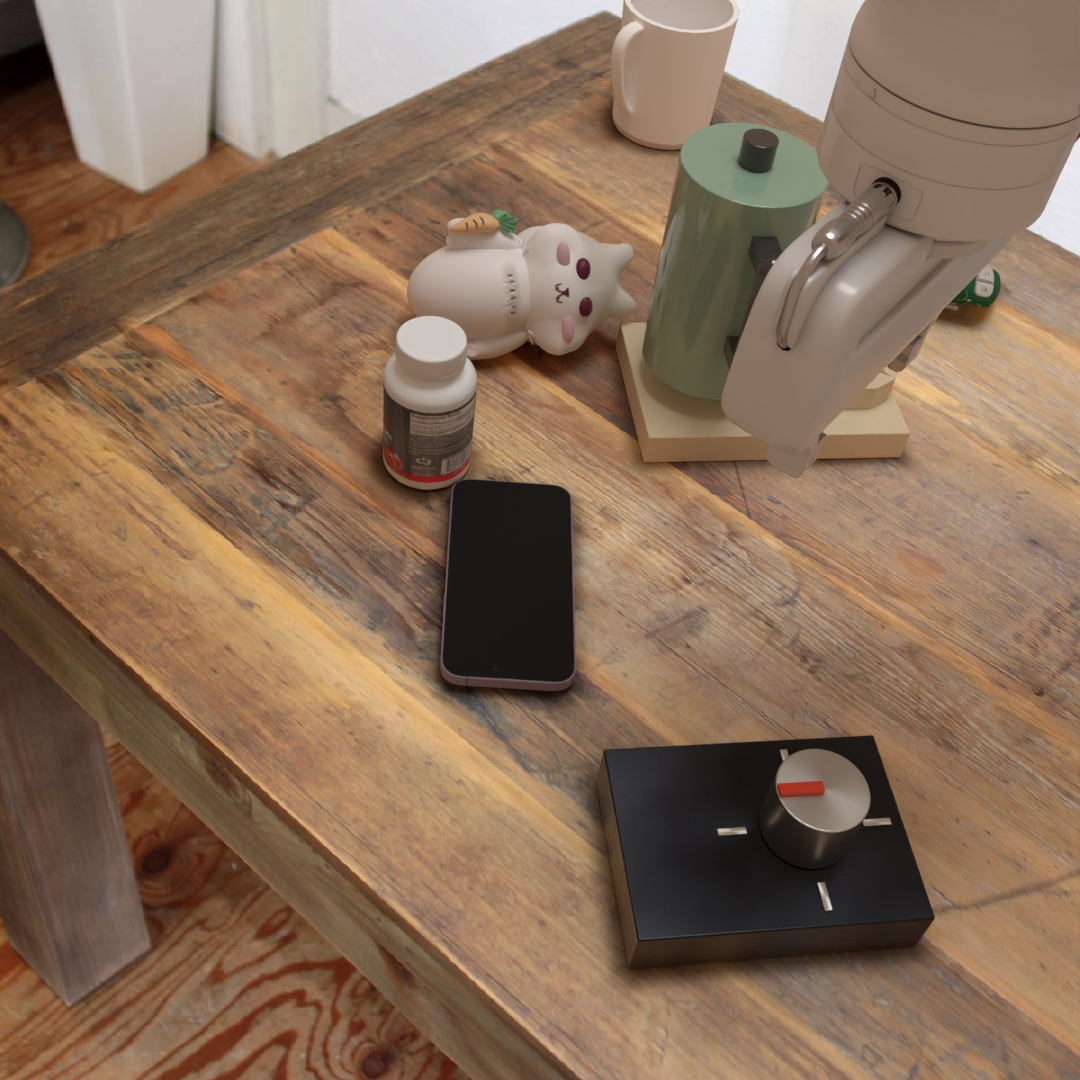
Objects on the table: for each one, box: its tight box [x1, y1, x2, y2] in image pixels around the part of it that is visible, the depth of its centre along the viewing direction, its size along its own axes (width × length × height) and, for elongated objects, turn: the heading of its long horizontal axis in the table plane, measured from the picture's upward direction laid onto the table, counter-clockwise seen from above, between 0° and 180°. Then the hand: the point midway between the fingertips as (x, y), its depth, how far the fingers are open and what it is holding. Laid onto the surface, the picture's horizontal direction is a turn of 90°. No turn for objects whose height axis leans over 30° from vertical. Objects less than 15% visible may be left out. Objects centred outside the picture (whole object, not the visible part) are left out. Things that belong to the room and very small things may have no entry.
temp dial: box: [759, 749, 871, 869], centre depth 62 cm, size 4×4×4 cm
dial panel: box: [595, 734, 936, 970], centre depth 64 cm, size 14×10×3 cm
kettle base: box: [615, 322, 911, 463], centre depth 87 cm, size 17×11×4 cm, turn 97°
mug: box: [610, 0, 741, 151], centre depth 106 cm, size 11×9×10 cm
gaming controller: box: [944, 265, 1002, 311], centre depth 97 cm, size 9×4×6 cm
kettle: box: [642, 122, 830, 400], centre depth 79 cm, size 8×14×16 cm, turn 7°
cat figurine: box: [406, 209, 637, 361], centre depth 88 cm, size 10×8×15 cm
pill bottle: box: [382, 316, 478, 491], centre depth 78 cm, size 5×5×10 cm
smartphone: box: [439, 478, 577, 692], centre depth 75 cm, size 7×1×15 cm
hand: (843, 409), depth 60 cm, fingers open, 8 cm apart
